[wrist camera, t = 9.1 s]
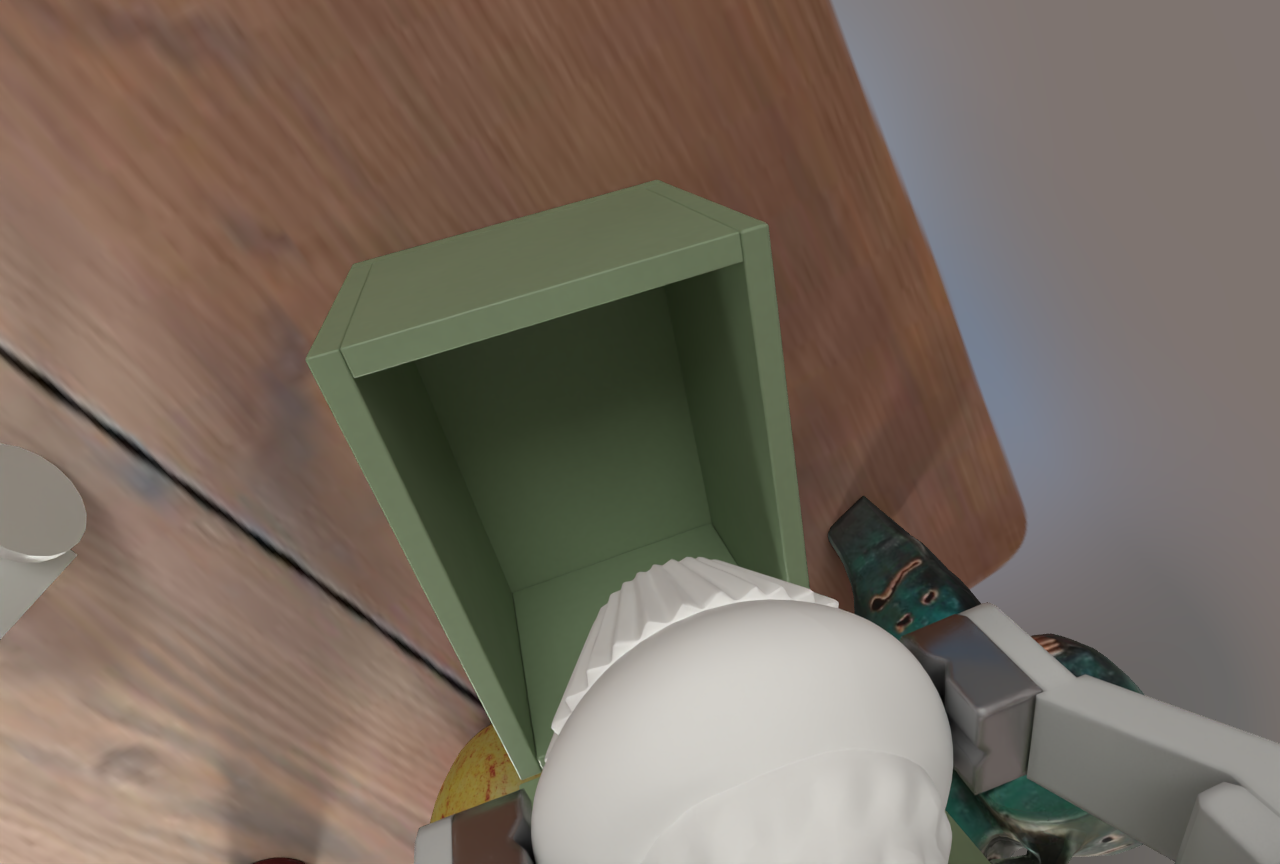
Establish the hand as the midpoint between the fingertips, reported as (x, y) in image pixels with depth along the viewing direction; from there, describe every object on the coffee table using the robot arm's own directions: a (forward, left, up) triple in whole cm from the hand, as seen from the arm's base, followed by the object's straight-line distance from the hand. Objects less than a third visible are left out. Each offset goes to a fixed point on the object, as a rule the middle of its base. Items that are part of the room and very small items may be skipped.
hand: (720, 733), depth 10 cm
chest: (+4, 0, -19) cm, 20 cm away
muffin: (0, 0, -3) cm, 3 cm away
